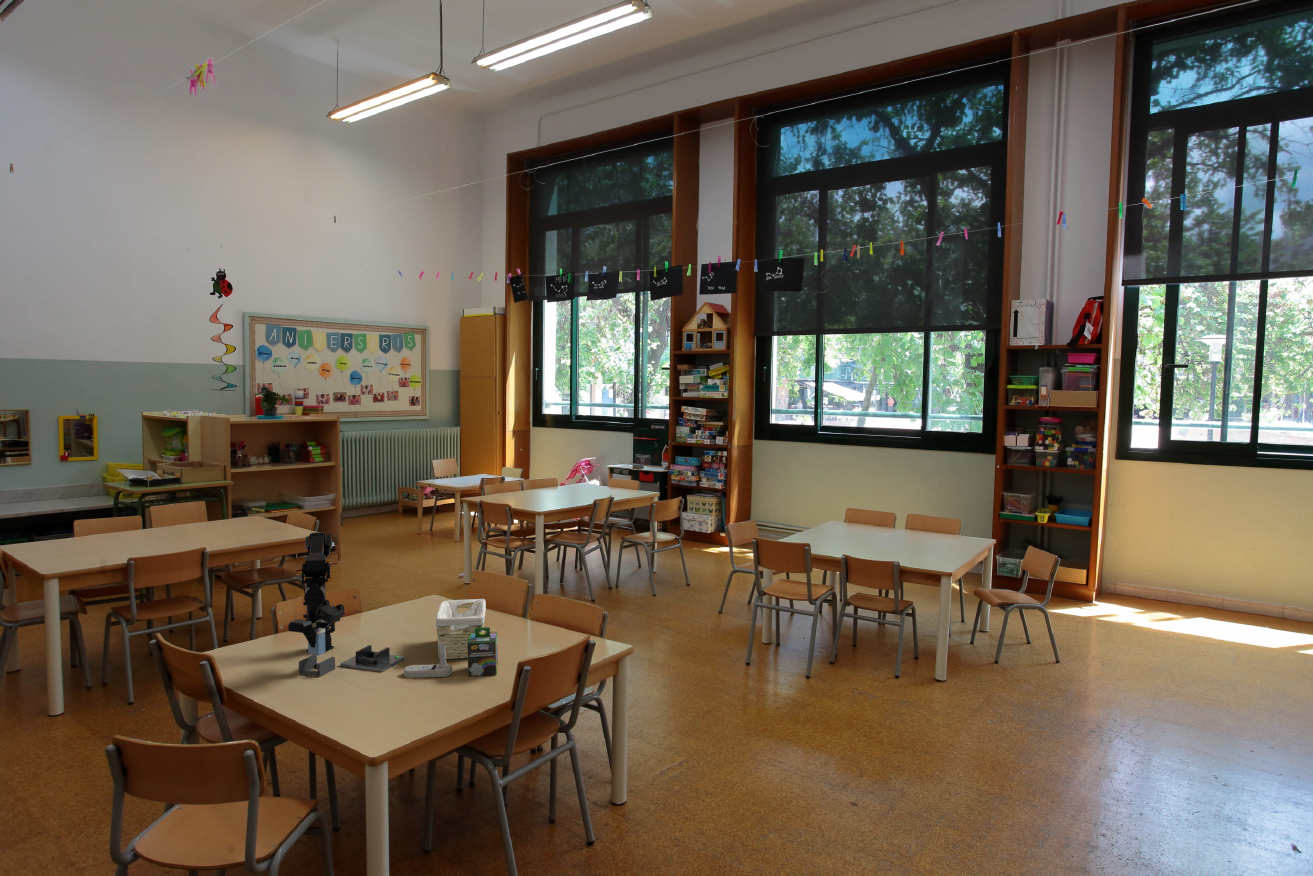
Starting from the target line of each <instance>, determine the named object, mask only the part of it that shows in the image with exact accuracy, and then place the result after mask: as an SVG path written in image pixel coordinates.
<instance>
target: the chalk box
mask: <svg viewBox="0 0 1313 876" xmlns="http://www.w3.org/2000/svg"><path fill="white" fill-rule="evenodd" d="M481 630H484V632H482V633H479V632H480V631H481ZM467 649H468V658H467V676H468V677H479V676H480V677H481V676H484V677H485V676H487V677H488V676H497V674H498V666H499V656H498V654H499V651H498V631H491V628H490V626H489V627H488V626H483V627H481V628H475V633H471V634H469V639H468V642H467Z"/></svg>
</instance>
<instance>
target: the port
mask: <svg viewBox="0 0 1313 876" xmlns="http://www.w3.org/2000/svg"><path fill="white" fill-rule="evenodd" d="M372 647H373V646H372V645H371V644H369V645H367V646H364V647H362V648H360V649H358V650H356V651H355V655H354V656H352V657H350V658H348V659H346V660H344V661H342V662H340V663H339V666H340V667H342V668H349V669H350V668H351V669H358V670H364V671H365V670H366V671H372V672H379V673H384V672H385V671H387V670H388V669H390V668H392V667H394V666H396V665H397V664H399V663H401V662H402V661H405V656H402V655H401V656H400V655H394V654H390V647H387V646H386V647H385V648H382V649H381V650H379V651H372V650H373V648H372Z"/></svg>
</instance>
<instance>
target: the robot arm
mask: <svg viewBox="0 0 1313 876" xmlns="http://www.w3.org/2000/svg"><path fill="white" fill-rule="evenodd" d="M332 537H333V536H332V535H329V534H328V533H326V532H324V531H322V532H321V531H318V532H311V533H309V535H307V536H306V537H305V541H304V543H305V545H304V547H305V551H307V555H306V556H305V558H304V562H303V563H302V564H301V585H304V584H305V592H304V595H303V602H302V606H305V608H306V609H305V610H306V612H305V613H304V614H302V615H303V617H302V618H304V619H301V618H298V619H294V620H292V621H289V622H288V624H287V631H288V632H292V633H294V632H295V633H301V634H303V635H304V637H305V639H306V641H307V643H308V642H309V644H310V646H311V647H312V648H314V647H315V642H316V631H317V630H318V629H319V628H325V653H327V651H330V650H332V649H334V648H335V646H333V644H332V636H331V634H333V633H334V632H336V626H335V625H336V623H338V622H340V621H341V618H343V617H344V616H345V605H344V604H342V603H339V604H337V605H336V606H335V605H333V606H332V605H331V604H330V600H329V599H327V595H326V593H327V592H326V591H327V589H326V584H327V583H328V582H329V579H331V564H330V562H329V561H327V559H328V558H329V556H330V554H331V550H332V549H333V538H332ZM306 652H307V653H308V648H307V649H306Z"/></svg>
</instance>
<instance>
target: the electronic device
mask: <svg viewBox="0 0 1313 876" xmlns="http://www.w3.org/2000/svg"><path fill="white" fill-rule="evenodd" d="M403 671H404V672H403V676H404V678H407V679H408V678H411V679H413V678H415V679H416V678H444V677H448V676H451V675H452V673H453V666H452V664H450V663H448V662H447V659H446V649H445V644H441V645H440V659H439V664H438V663H437V664H435V663H434V664H412V665H411V664H410V665H408V666H406V667H404V669H403Z"/></svg>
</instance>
